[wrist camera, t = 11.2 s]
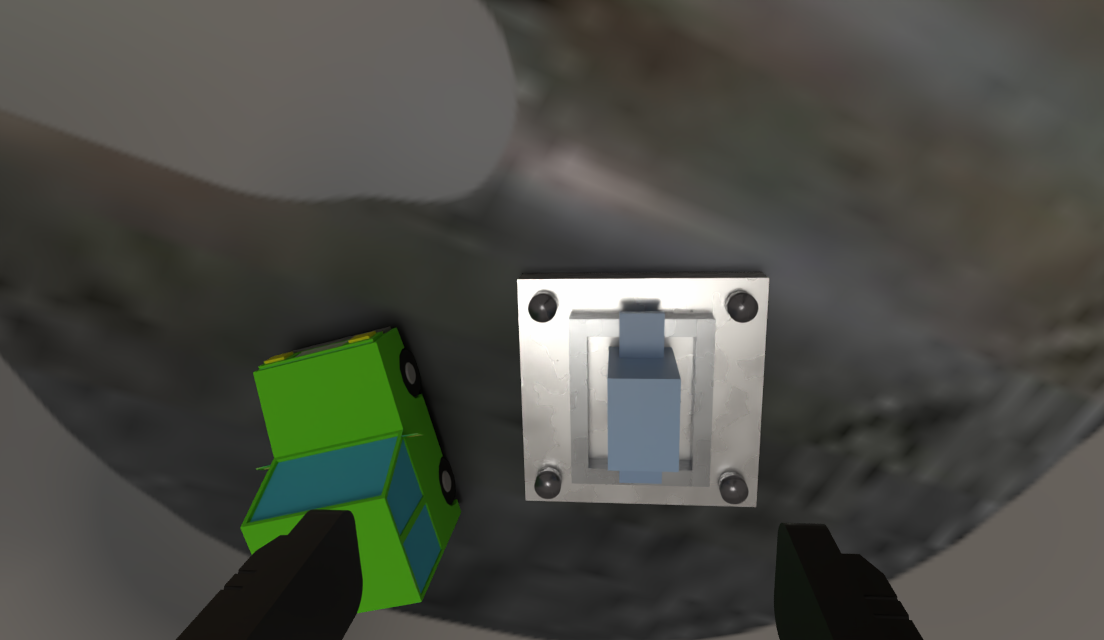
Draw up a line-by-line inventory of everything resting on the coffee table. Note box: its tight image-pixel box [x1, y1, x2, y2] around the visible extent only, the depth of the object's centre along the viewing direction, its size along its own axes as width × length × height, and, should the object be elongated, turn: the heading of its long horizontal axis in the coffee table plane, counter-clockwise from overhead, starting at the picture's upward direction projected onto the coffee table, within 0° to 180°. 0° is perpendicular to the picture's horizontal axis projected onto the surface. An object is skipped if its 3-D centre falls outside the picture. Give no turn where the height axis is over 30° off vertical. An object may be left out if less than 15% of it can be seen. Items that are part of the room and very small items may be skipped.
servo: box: [607, 311, 681, 484], centre depth 35 cm, size 10×4×6 cm, turn 1°
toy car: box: [240, 327, 461, 613], centre depth 38 cm, size 10×13×10 cm
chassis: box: [517, 272, 769, 507], centre depth 38 cm, size 14×14×3 cm
